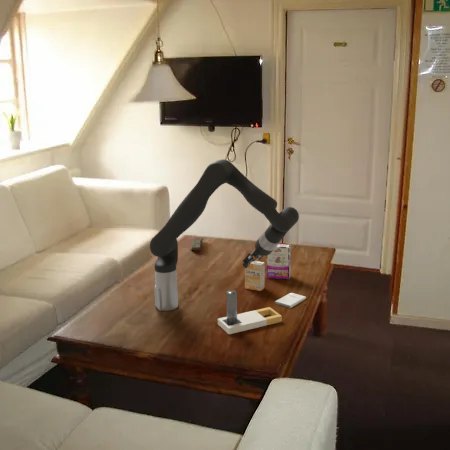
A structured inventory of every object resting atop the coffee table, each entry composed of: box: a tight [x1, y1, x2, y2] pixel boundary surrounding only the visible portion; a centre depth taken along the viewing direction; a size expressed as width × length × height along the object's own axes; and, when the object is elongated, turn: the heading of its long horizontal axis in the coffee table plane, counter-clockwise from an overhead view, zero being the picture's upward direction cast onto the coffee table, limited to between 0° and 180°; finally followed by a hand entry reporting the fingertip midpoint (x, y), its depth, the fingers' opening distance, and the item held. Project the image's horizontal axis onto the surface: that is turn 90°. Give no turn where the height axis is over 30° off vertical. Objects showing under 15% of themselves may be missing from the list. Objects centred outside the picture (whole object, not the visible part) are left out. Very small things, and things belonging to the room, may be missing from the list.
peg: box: [226, 289, 238, 326], centre depth 229 cm, size 4×4×15 cm
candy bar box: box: [266, 243, 292, 280], centre depth 280 cm, size 11×5×16 cm, turn 76°
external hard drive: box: [274, 292, 307, 309], centre depth 255 cm, size 2×8×12 cm
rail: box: [217, 306, 283, 335], centre depth 235 cm, size 24×10×2 cm, turn 116°
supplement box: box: [244, 260, 266, 292], centre depth 268 cm, size 8×5×13 cm, turn 62°
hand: (251, 261), depth 242 cm, fingers open, 8 cm apart
